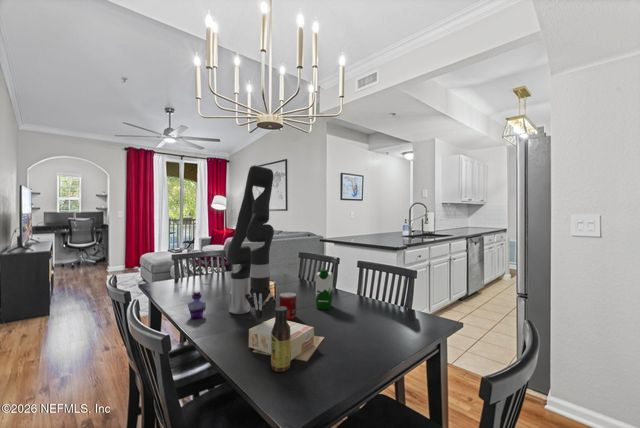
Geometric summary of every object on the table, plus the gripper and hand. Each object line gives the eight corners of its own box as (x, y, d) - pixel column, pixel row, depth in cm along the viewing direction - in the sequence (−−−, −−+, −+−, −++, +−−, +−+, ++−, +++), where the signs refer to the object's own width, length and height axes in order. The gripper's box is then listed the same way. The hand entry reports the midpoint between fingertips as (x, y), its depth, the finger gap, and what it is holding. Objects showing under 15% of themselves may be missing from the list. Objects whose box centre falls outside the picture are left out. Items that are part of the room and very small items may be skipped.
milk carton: (314, 309, 158) (315, 271, 158) (316, 304, 167) (316, 267, 167) (331, 310, 157) (332, 271, 157) (332, 304, 166) (333, 268, 166)
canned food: (293, 320, 142) (293, 297, 142) (277, 319, 144) (277, 296, 144) (298, 315, 150) (298, 292, 150) (282, 314, 152) (282, 291, 151)
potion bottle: (209, 317, 146) (209, 292, 146) (191, 322, 140) (191, 295, 140) (201, 313, 152) (201, 288, 152) (183, 317, 146) (183, 292, 146)
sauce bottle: (271, 363, 103) (272, 304, 103) (290, 362, 103) (290, 304, 103) (270, 374, 96) (270, 311, 96) (290, 373, 97) (290, 310, 97)
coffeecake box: (248, 347, 114) (290, 361, 104) (248, 328, 114) (290, 340, 104) (274, 334, 127) (314, 345, 116) (274, 316, 126) (314, 326, 116)
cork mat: (252, 352, 111) (252, 351, 111) (276, 331, 130) (276, 330, 130) (307, 361, 105) (307, 360, 105) (324, 337, 124) (324, 337, 124)
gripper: (240, 275, 119) (240, 320, 120) (270, 278, 115) (270, 324, 116) (250, 271, 126) (250, 313, 127) (279, 274, 122) (279, 317, 123)
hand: (260, 318), depth 121 cm, fingers closed
